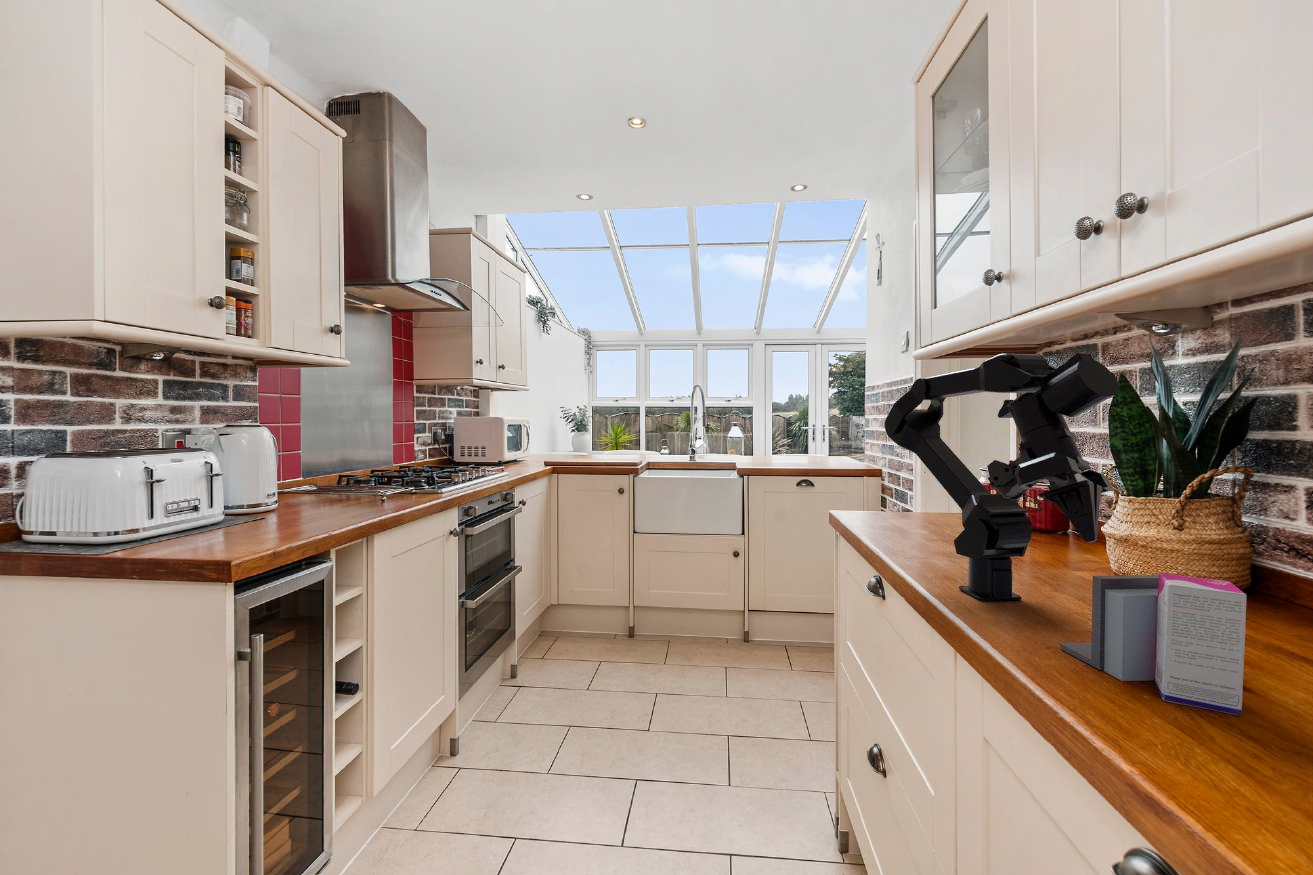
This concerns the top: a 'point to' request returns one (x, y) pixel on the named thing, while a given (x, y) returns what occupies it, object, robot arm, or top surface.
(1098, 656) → the bookend
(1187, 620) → the supplement box
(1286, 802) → the top surface
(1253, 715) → the top surface
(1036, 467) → the robot arm
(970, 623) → the top surface
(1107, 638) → the book
